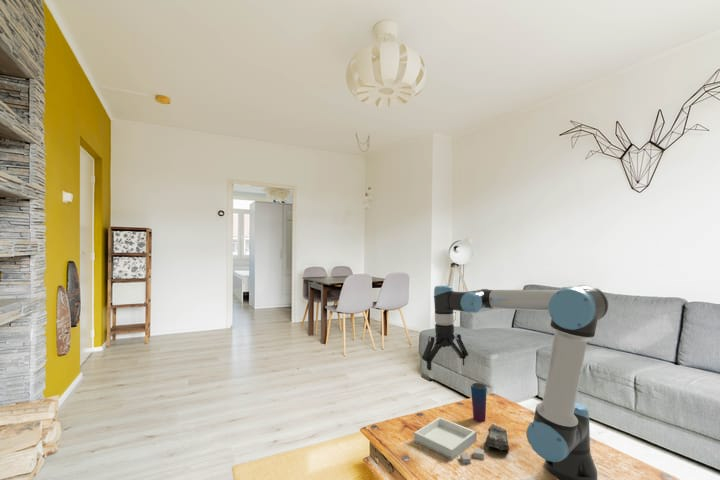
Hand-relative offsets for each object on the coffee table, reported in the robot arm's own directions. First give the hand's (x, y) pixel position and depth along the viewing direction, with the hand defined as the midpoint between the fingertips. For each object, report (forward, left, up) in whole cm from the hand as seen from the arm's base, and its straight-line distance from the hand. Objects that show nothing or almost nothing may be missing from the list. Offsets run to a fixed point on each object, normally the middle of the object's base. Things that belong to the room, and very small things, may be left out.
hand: (446, 375), depth 140 cm
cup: (-2, -22, -25) cm, 33 cm away
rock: (-17, -8, -25) cm, 31 cm away
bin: (-1, +4, -24) cm, 25 cm away
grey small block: (-15, +4, -25) cm, 29 cm away
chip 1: (-13, +10, -25) cm, 30 cm away
